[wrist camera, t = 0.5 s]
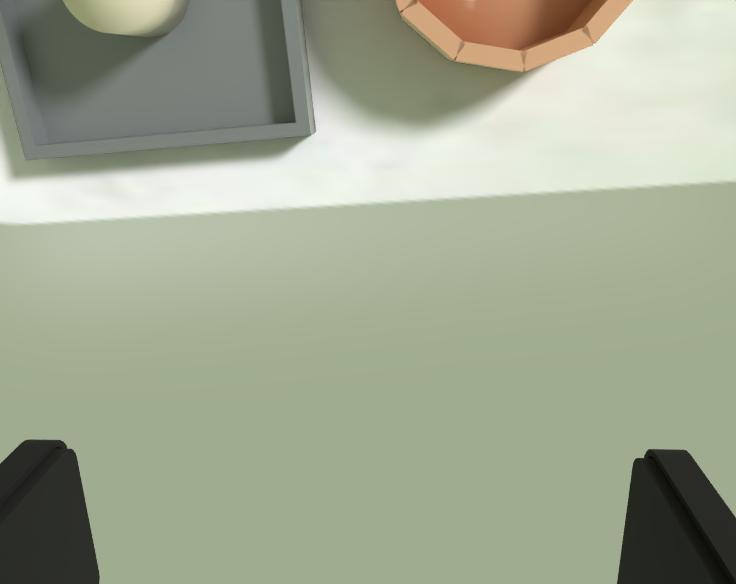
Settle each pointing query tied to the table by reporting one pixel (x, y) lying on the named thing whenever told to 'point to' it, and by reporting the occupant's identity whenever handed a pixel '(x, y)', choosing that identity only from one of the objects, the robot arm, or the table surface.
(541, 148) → the table surface
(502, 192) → the table surface
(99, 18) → the egg
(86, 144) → the tray
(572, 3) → the bowl
